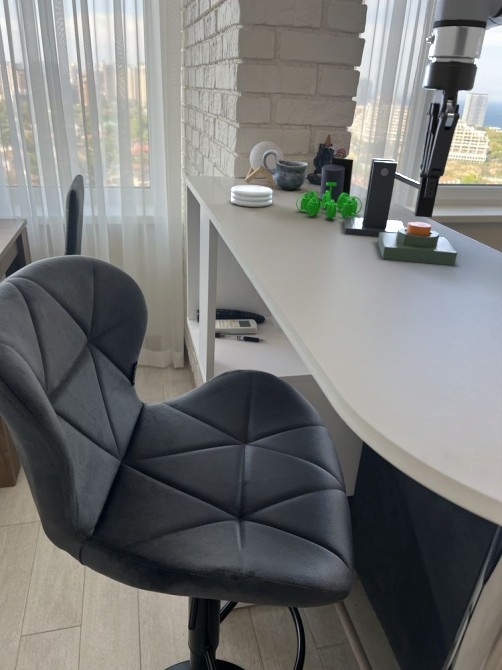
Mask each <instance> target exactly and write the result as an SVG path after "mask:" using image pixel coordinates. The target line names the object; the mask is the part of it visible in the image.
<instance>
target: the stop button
mask: <svg viewBox="0 0 502 670" xmlns="http://www.w3.org/2000/svg"><path fill="white" fill-rule="evenodd" d="M406 227H407V231H406V232H407V233H410V234H414V235H422V236H425V235H430V231H431V230H432V224H431V223H428V222H423V221H409V222H407V226H406Z"/></svg>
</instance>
